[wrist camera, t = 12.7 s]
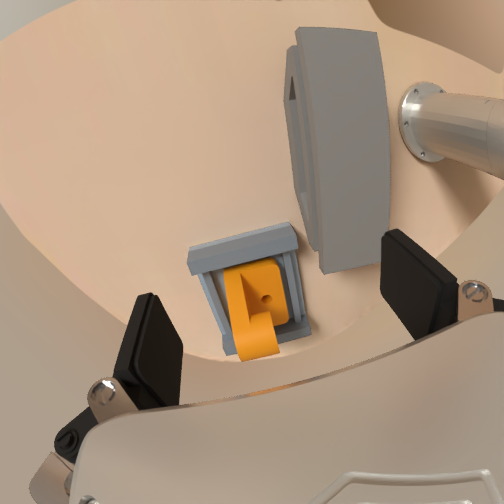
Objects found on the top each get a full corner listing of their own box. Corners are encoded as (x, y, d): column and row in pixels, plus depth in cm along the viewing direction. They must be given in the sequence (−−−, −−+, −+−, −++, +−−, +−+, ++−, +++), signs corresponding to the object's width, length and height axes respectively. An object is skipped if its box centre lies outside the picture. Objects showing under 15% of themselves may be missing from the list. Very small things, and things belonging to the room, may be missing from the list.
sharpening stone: (275, 51, 28) (299, 26, 18) (334, 50, 28) (376, 32, 18) (298, 233, 39) (323, 274, 30) (349, 224, 40) (385, 260, 30)
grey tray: (288, 221, 38) (296, 234, 35) (304, 318, 47) (311, 334, 43) (189, 247, 38) (186, 262, 35) (225, 338, 47) (226, 355, 43)
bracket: (286, 311, 44) (304, 368, 33) (241, 322, 44) (249, 382, 34) (274, 253, 39) (294, 307, 28) (223, 265, 39) (226, 324, 28)
